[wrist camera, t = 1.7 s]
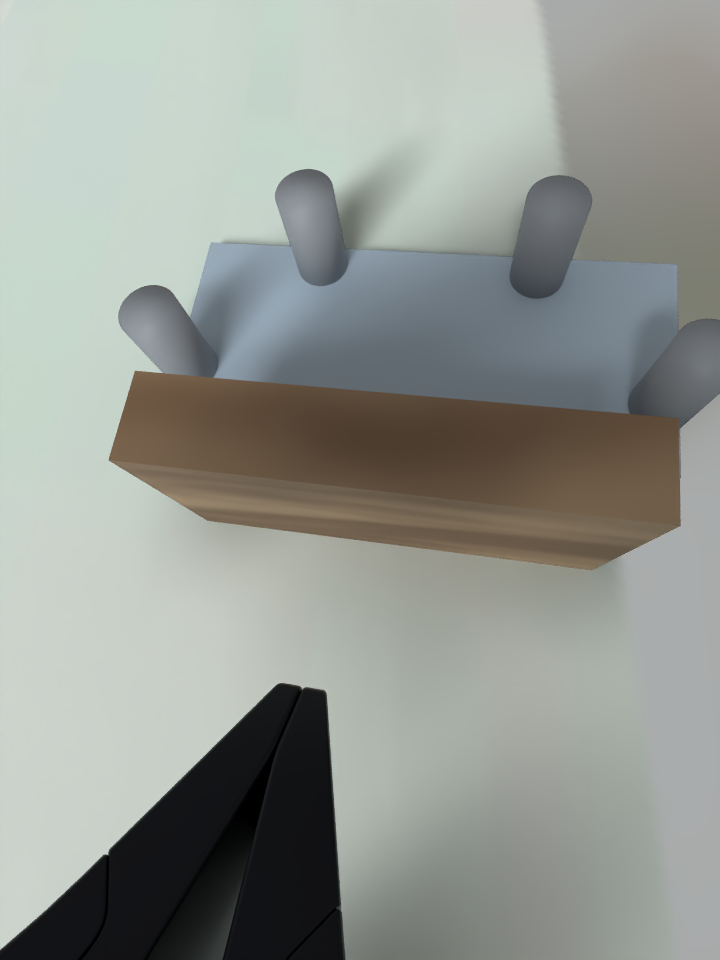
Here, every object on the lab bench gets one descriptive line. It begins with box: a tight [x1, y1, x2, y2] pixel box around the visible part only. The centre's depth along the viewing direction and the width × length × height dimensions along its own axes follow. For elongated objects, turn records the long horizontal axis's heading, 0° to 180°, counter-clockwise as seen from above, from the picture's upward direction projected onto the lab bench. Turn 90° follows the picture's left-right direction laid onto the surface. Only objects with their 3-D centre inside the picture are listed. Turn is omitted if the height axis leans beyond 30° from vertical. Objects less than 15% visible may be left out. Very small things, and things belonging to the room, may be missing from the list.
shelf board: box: [109, 371, 680, 570], centre depth 19 cm, size 3×16×8 cm, turn 81°
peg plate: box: [118, 169, 720, 478], centre depth 23 cm, size 10×23×5 cm, turn 82°
